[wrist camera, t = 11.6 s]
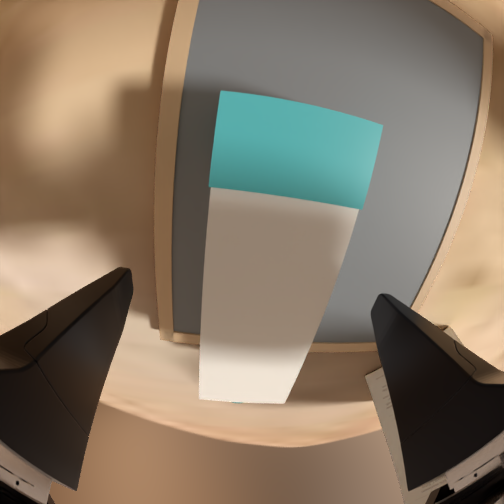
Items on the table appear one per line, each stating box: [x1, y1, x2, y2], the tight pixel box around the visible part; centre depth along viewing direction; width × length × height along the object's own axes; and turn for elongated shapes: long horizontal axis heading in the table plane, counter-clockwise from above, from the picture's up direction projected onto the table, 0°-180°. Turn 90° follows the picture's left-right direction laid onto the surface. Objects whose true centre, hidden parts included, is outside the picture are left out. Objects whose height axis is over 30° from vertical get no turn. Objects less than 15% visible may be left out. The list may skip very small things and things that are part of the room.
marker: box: [199, 91, 383, 403], centre depth 11 cm, size 4×14×4 cm, turn 172°
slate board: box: [154, 0, 493, 352], centre depth 11 cm, size 15×21×1 cm
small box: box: [365, 327, 464, 504], centre depth 13 cm, size 8×6×13 cm
